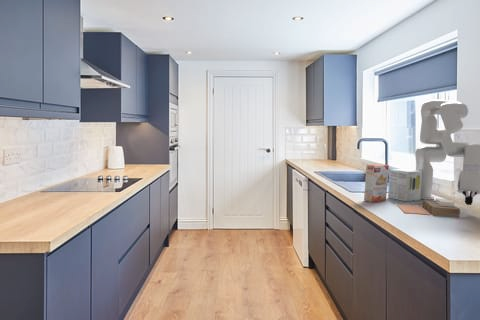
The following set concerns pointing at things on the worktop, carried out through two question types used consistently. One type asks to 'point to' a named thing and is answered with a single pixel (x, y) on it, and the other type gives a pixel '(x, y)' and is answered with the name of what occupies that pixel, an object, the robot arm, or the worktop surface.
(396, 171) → the supplement box
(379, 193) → the cracker box
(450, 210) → the walnut block
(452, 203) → the ceramic tile
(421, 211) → the rubber mat
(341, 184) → the worktop surface
